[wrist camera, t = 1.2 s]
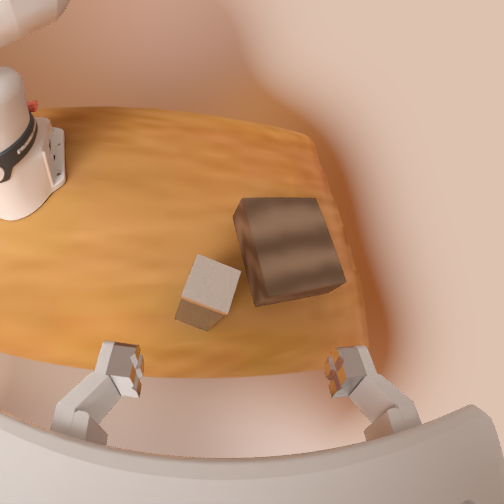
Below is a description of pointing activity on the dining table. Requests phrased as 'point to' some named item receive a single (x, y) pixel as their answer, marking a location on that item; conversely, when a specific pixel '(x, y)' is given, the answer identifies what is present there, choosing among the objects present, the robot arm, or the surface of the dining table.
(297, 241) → the walnut box
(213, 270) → the slate tin
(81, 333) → the dining table surface
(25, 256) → the dining table surface
